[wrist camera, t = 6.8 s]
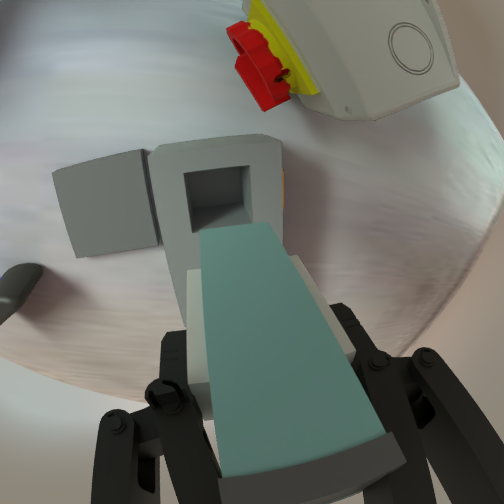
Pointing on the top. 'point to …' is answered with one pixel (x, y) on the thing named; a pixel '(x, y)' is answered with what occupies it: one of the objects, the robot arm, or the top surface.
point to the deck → (107, 204)
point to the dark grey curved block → (17, 287)
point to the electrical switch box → (344, 54)
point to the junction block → (213, 194)
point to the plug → (281, 381)
